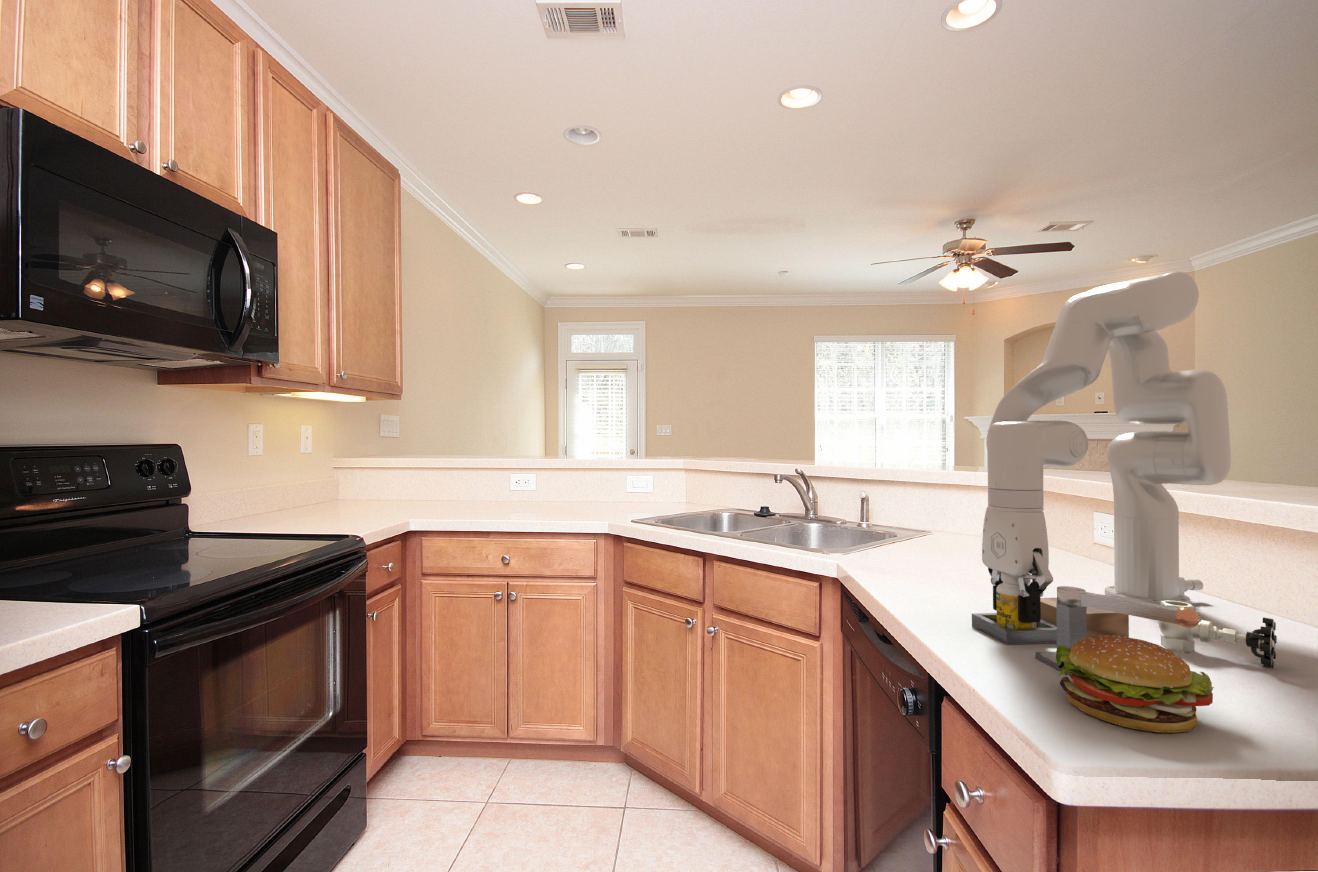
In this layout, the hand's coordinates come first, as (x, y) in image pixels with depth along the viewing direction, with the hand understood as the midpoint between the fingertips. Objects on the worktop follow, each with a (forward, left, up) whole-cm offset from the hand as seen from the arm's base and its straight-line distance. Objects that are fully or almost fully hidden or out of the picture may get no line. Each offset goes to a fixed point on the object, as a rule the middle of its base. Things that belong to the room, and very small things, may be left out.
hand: (1016, 614), depth 95 cm
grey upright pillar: (+1, +13, -3) cm, 13 cm away
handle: (-2, +18, +5) cm, 19 cm away
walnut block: (-11, -1, -3) cm, 11 cm away
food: (+4, +26, -3) cm, 27 cm away
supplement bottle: (0, 0, -3) cm, 3 cm away
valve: (-22, +11, -3) cm, 24 cm away
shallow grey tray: (0, 0, -3) cm, 3 cm away
